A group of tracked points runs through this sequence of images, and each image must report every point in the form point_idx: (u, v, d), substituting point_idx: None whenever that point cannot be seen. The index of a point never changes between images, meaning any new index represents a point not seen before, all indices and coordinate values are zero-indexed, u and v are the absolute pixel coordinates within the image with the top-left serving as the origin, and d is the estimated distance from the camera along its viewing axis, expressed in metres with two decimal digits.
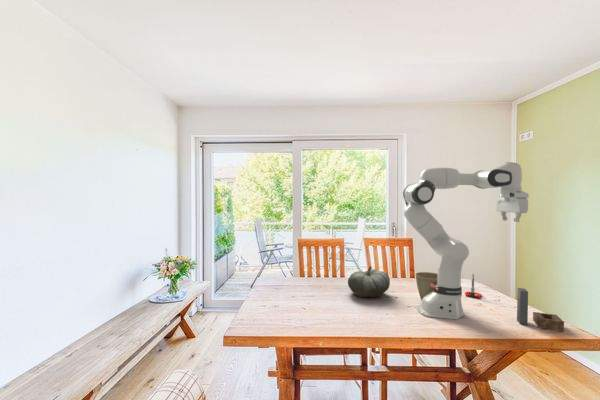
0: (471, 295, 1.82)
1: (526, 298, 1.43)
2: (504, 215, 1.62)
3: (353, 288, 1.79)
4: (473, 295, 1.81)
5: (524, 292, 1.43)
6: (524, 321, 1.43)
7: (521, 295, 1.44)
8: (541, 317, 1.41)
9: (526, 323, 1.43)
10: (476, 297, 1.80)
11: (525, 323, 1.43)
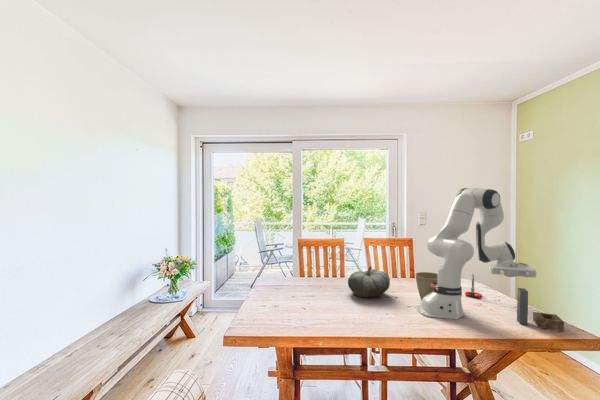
0: (471, 295, 1.82)
1: (526, 298, 1.43)
2: None
3: (353, 288, 1.79)
4: (473, 295, 1.81)
5: (524, 292, 1.43)
6: (524, 321, 1.43)
7: (521, 295, 1.44)
8: (541, 317, 1.41)
9: (526, 323, 1.43)
10: (476, 297, 1.80)
11: (525, 323, 1.43)
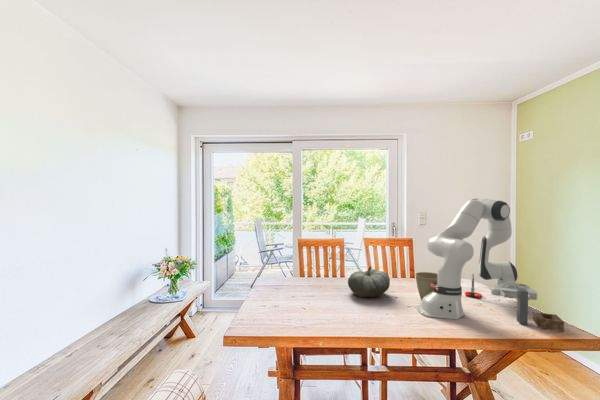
0: (471, 295, 1.82)
1: (526, 298, 1.43)
2: None
3: (353, 288, 1.79)
4: (473, 295, 1.81)
5: (524, 292, 1.43)
6: (524, 321, 1.43)
7: (521, 295, 1.44)
8: (541, 317, 1.41)
9: (526, 323, 1.43)
10: (476, 297, 1.80)
11: (525, 323, 1.43)
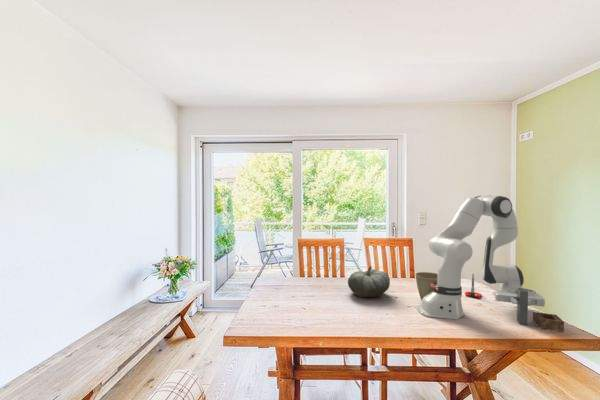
0: (471, 295, 1.82)
1: (526, 298, 1.43)
2: None
3: (353, 288, 1.79)
4: (473, 295, 1.81)
5: (524, 292, 1.43)
6: (524, 321, 1.43)
7: (521, 295, 1.44)
8: (541, 317, 1.41)
9: (526, 323, 1.43)
10: (476, 297, 1.80)
11: (525, 323, 1.43)
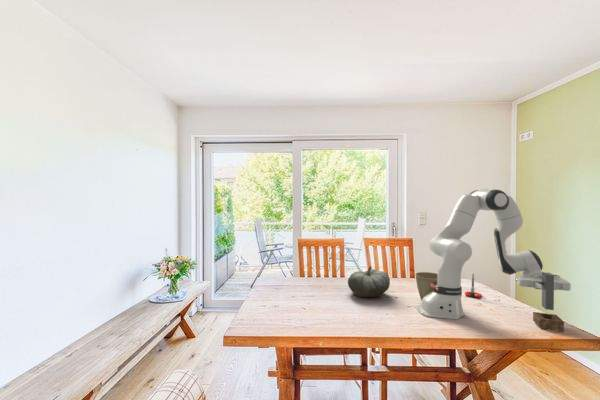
0: (471, 295, 1.82)
1: (552, 282, 1.39)
2: None
3: (353, 288, 1.79)
4: (473, 295, 1.81)
5: (550, 276, 1.39)
6: (550, 305, 1.40)
7: (547, 279, 1.40)
8: (541, 317, 1.41)
9: (552, 308, 1.39)
10: (476, 297, 1.80)
11: (551, 308, 1.40)
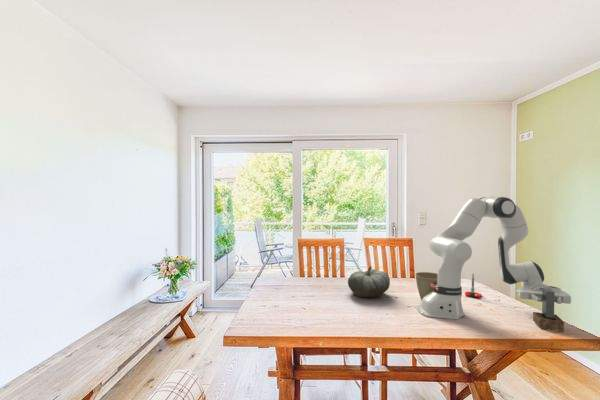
0: (471, 295, 1.82)
1: (553, 298, 1.39)
2: None
3: (353, 288, 1.79)
4: (473, 295, 1.81)
5: (550, 292, 1.39)
6: None
7: (547, 296, 1.40)
8: (541, 317, 1.41)
9: None
10: (476, 297, 1.80)
11: None
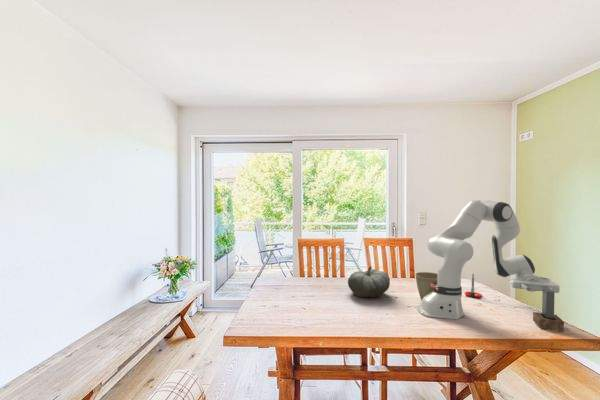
0: (471, 295, 1.82)
1: (553, 298, 1.39)
2: None
3: (353, 288, 1.79)
4: (473, 295, 1.81)
5: (550, 292, 1.39)
6: None
7: (547, 296, 1.40)
8: (541, 317, 1.41)
9: None
10: (476, 297, 1.80)
11: None
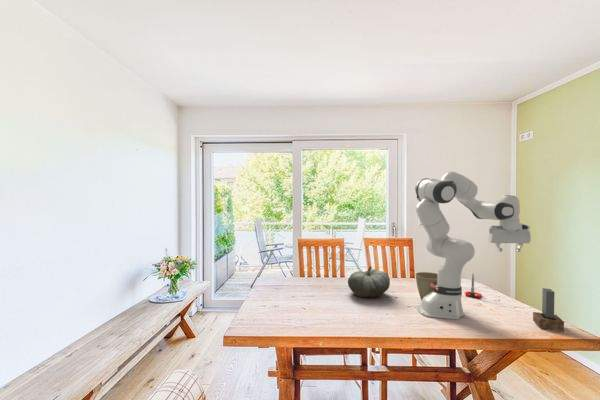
0: (471, 295, 1.82)
1: (553, 298, 1.39)
2: None
3: (353, 288, 1.79)
4: (473, 295, 1.81)
5: (550, 292, 1.39)
6: None
7: (547, 296, 1.40)
8: (541, 317, 1.41)
9: None
10: (476, 297, 1.80)
11: None
